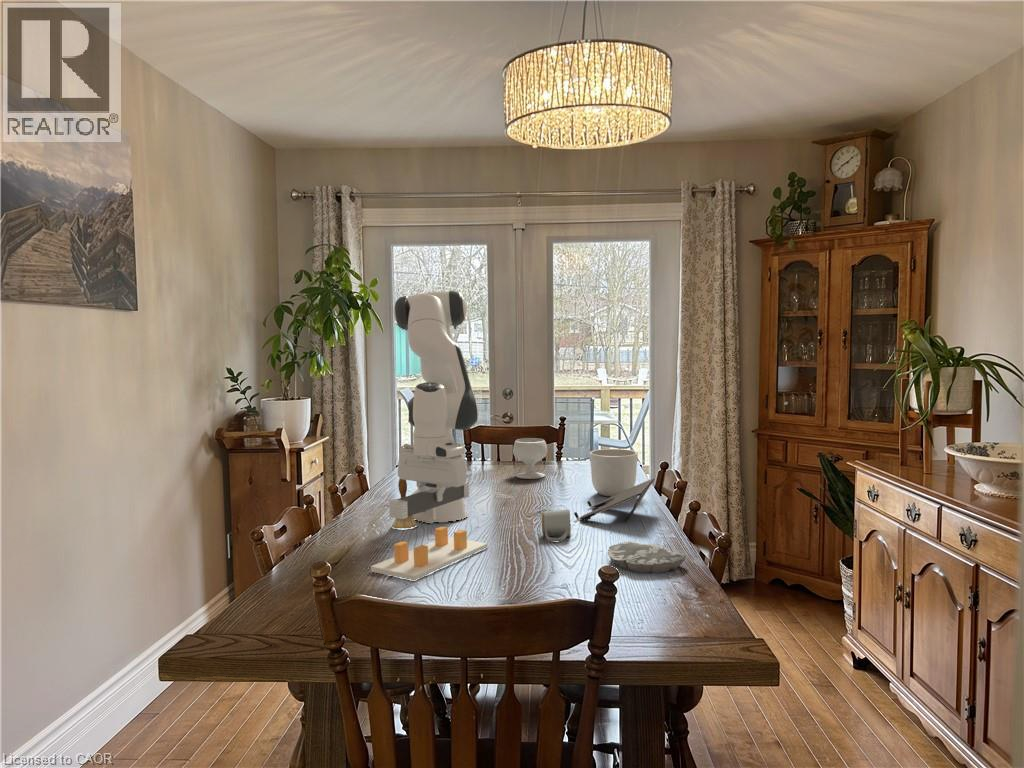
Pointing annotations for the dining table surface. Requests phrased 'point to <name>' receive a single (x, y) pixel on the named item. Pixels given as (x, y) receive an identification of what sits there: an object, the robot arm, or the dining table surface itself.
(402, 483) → the hand bell
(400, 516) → the bar
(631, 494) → the portable electronic device stand
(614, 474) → the planter
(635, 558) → the brain slice
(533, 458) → the chalice
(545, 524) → the ceramic mug
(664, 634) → the dining table surface
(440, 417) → the robot arm
